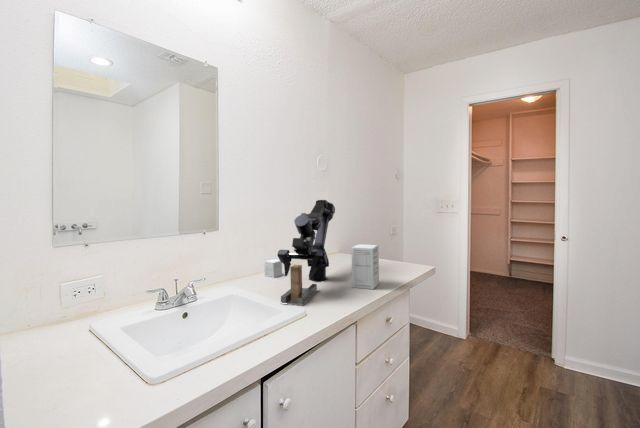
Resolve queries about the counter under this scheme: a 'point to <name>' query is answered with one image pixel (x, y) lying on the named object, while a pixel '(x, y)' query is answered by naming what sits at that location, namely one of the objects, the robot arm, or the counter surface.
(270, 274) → the product box
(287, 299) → the bottom track
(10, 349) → the counter surface
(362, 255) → the supplement box
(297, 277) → the brown wooden block
